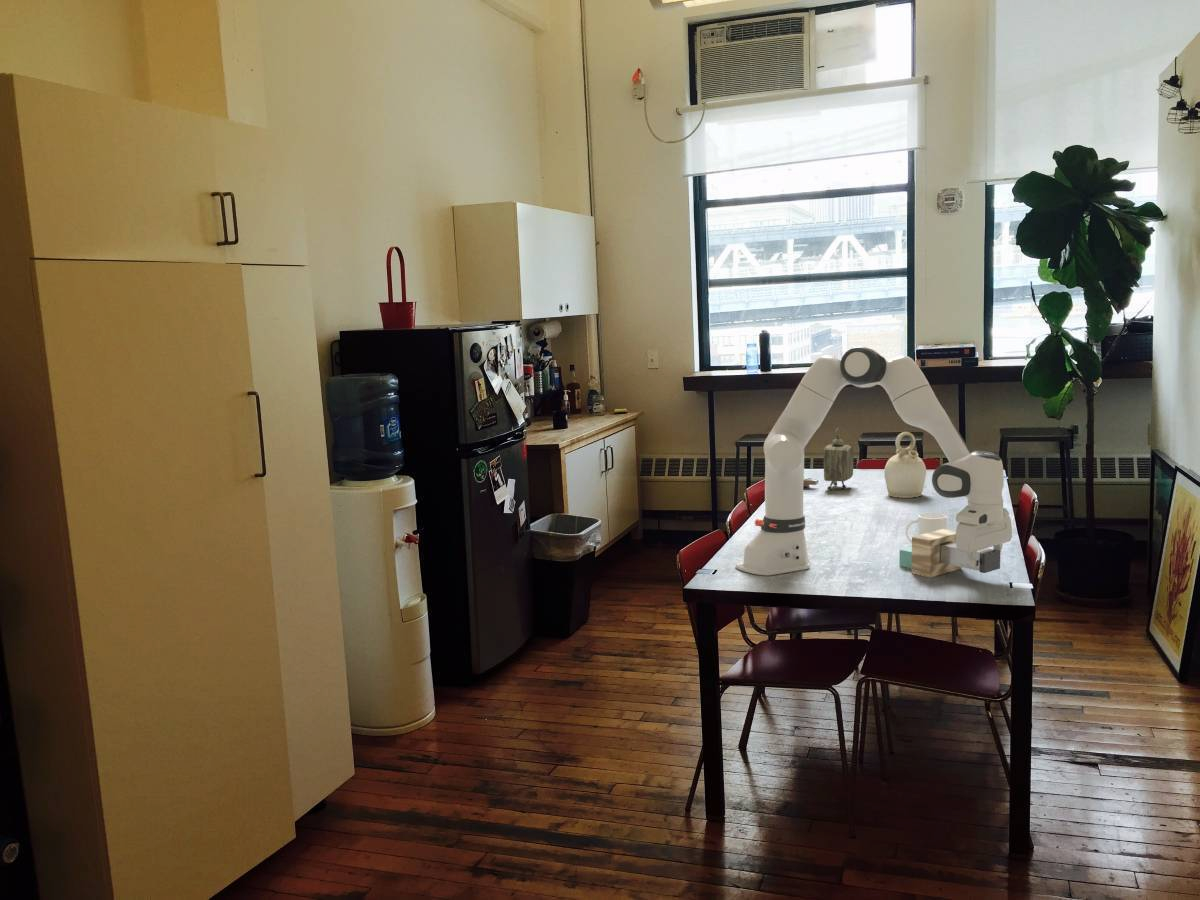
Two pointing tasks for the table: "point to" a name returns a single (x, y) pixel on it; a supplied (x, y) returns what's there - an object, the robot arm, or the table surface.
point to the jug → (905, 471)
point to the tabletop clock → (838, 462)
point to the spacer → (906, 557)
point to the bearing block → (931, 553)
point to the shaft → (952, 556)
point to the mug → (929, 523)
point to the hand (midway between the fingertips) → (984, 563)
